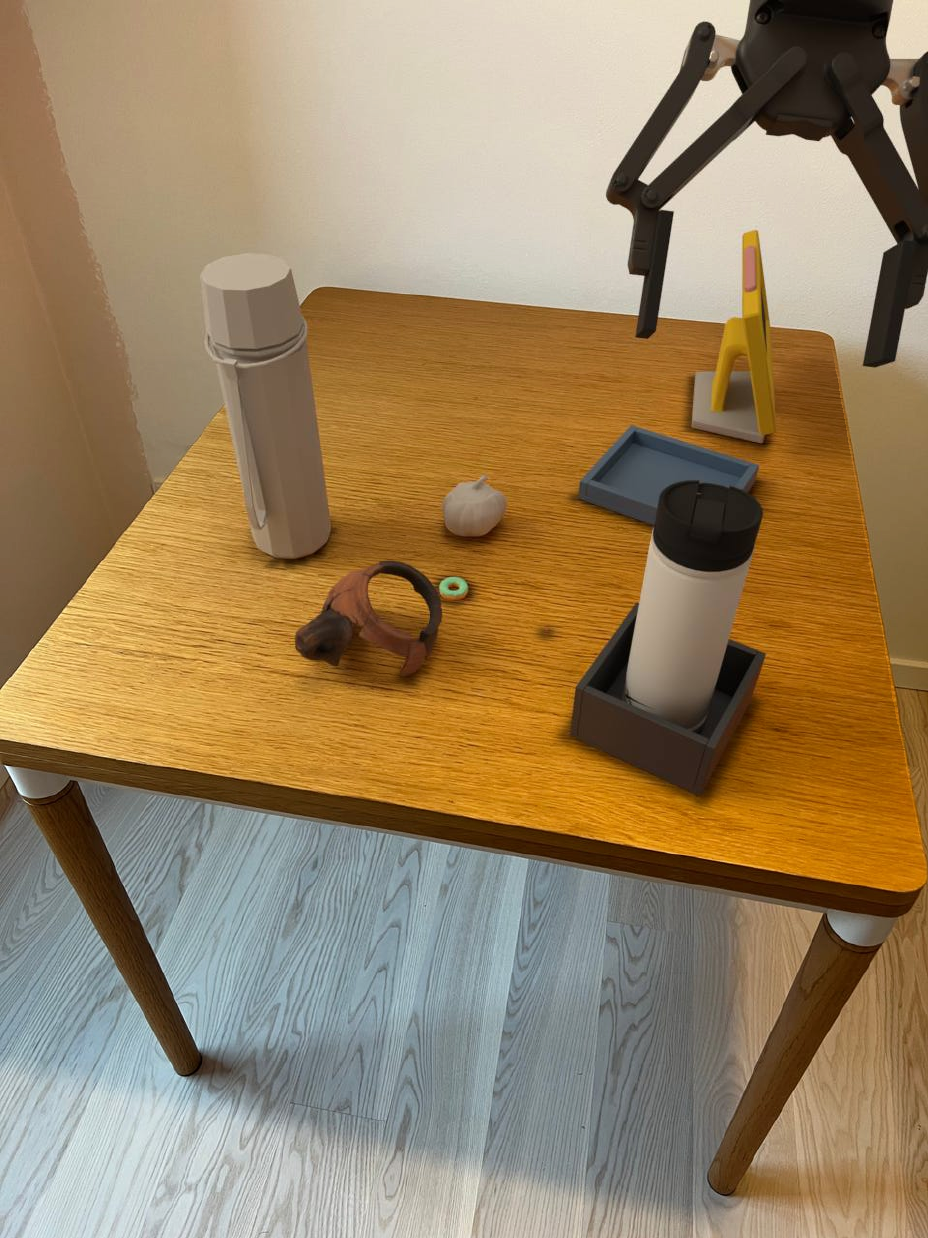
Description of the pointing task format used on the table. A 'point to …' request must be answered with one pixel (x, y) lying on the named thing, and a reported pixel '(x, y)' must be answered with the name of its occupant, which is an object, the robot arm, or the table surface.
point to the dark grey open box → (650, 736)
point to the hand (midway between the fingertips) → (761, 349)
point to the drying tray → (656, 472)
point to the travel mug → (690, 598)
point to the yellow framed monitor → (741, 396)
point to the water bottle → (268, 399)
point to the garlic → (473, 508)
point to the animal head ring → (369, 619)
